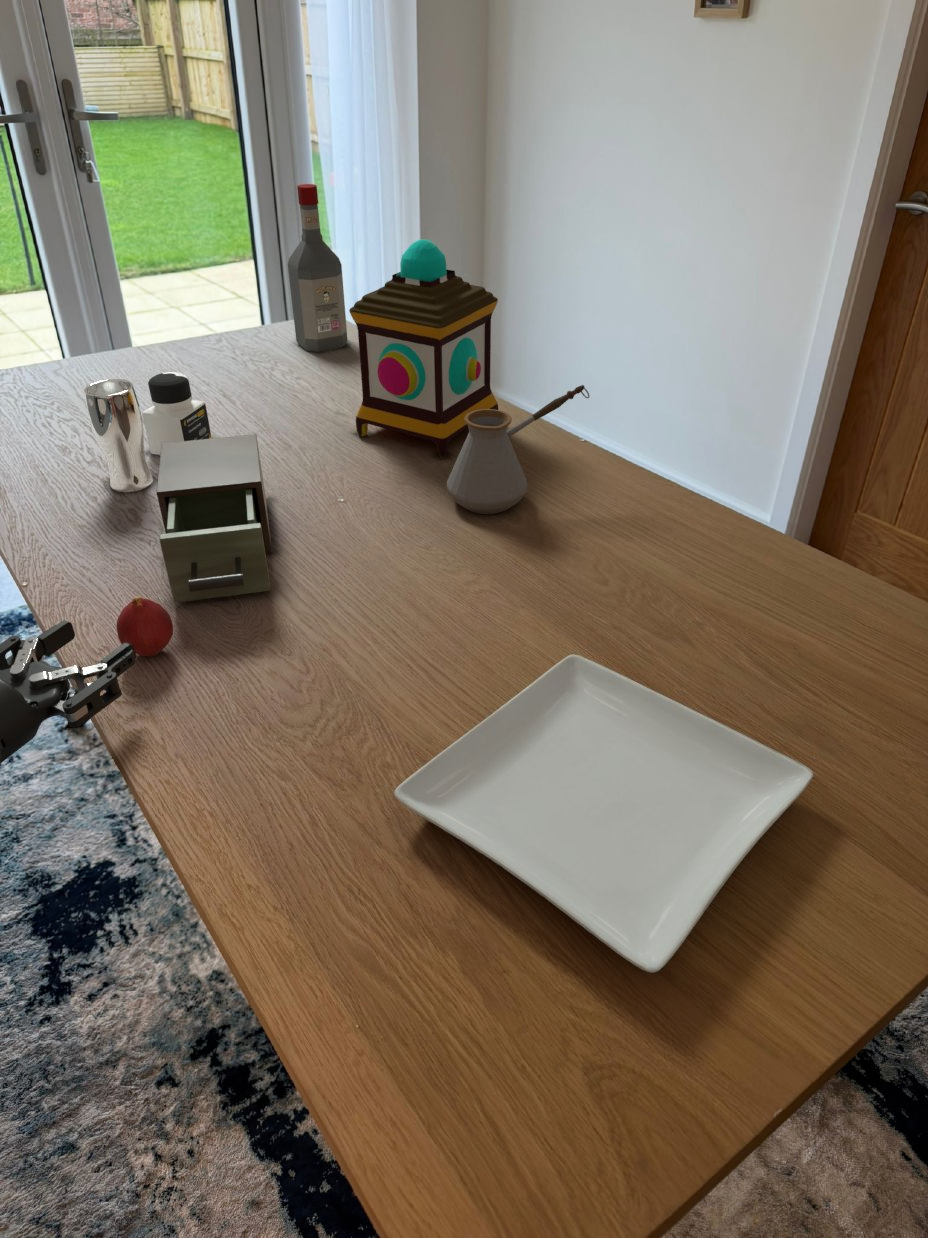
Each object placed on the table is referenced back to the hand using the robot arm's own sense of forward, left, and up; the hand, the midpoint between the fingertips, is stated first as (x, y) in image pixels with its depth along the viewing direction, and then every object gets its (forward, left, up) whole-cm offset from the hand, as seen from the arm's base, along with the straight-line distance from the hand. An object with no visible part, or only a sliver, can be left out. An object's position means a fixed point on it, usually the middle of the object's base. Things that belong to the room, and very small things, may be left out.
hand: (101, 639), depth 92 cm
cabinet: (+12, +30, -6) cm, 33 cm away
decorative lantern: (+46, +57, -6) cm, 73 cm away
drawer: (+12, +17, -5) cm, 21 cm away
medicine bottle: (+6, +59, -6) cm, 60 cm away
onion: (+4, +4, -6) cm, 8 cm away
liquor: (+33, +104, -6) cm, 109 cm away
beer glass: (-1, +48, -6) cm, 49 cm away
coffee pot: (+54, +31, -6) cm, 62 cm away
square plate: (+45, -29, -6) cm, 53 cm away
